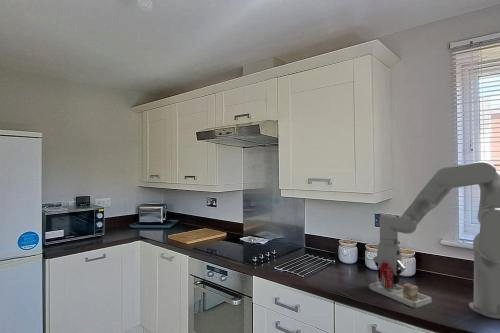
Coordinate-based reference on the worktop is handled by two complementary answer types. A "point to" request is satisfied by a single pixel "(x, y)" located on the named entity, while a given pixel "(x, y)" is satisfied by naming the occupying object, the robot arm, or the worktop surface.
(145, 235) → the worktop surface
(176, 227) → the worktop surface
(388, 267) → the soda can
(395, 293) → the organiser tray
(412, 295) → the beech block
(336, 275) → the worktop surface
